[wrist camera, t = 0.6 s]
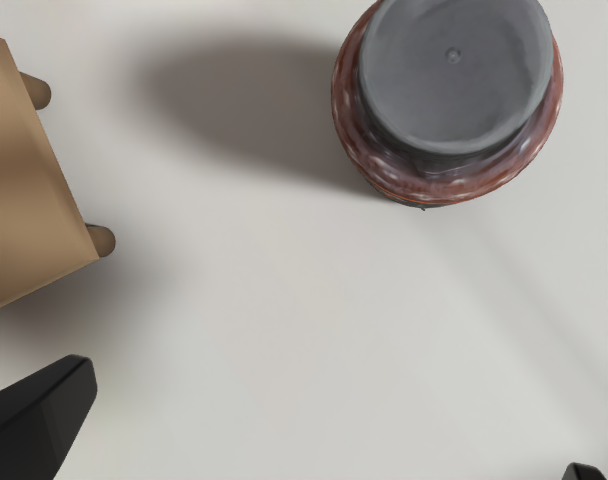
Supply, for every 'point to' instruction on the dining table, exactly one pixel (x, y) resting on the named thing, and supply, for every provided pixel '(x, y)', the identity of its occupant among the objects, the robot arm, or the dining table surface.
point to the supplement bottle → (446, 96)
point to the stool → (36, 195)
